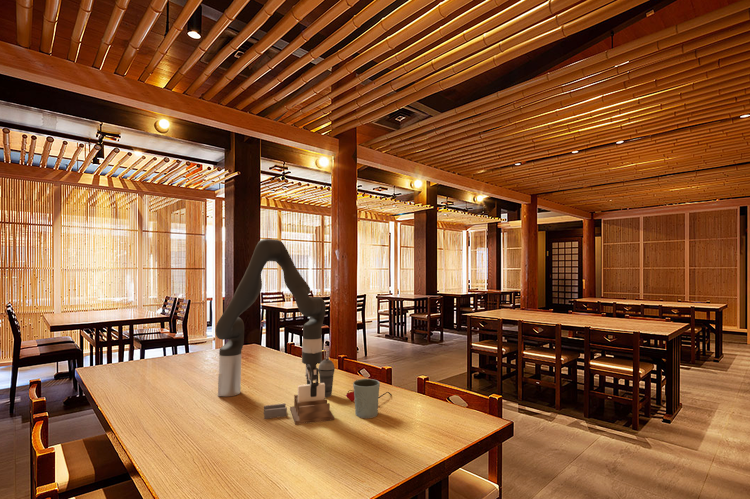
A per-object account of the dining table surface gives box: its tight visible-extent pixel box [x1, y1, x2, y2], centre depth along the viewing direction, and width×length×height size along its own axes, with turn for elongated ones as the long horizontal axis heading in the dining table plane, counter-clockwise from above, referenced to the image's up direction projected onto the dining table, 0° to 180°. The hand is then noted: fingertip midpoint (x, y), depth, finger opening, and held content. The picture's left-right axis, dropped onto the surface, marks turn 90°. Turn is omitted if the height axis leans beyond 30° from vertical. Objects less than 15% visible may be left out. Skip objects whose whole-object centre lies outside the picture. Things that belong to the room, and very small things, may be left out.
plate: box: [297, 382, 326, 402], centre depth 148 cm, size 10×2×10 cm, turn 109°
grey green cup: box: [352, 378, 381, 419], centre depth 149 cm, size 10×10×12 cm
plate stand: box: [263, 402, 288, 420], centre depth 147 cm, size 8×5×3 cm
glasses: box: [345, 389, 392, 402], centre depth 167 cm, size 14×16×5 cm
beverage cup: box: [317, 348, 336, 398], centre depth 170 cm, size 7×7×20 cm
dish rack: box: [289, 394, 335, 426], centre depth 148 cm, size 14×15×6 cm
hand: (311, 393), depth 148 cm, fingers open, 8 cm apart
